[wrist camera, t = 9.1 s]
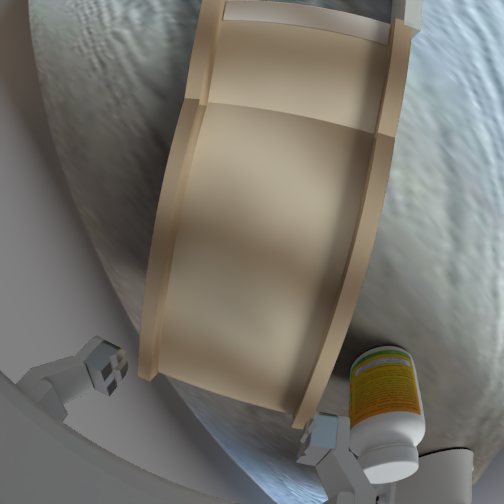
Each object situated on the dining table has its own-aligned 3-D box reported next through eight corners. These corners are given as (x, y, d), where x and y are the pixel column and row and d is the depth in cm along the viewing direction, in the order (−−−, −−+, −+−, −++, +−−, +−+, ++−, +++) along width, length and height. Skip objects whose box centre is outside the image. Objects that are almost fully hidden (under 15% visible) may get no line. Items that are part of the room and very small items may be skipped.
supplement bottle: (338, 360, 21) (329, 471, 13) (400, 332, 19) (419, 447, 10) (365, 395, 22) (362, 492, 14) (420, 372, 20) (436, 472, 12)
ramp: (316, 337, 21) (302, 435, 13) (194, 303, 22) (138, 382, 15) (394, 44, 12) (446, -14, 4) (229, 17, 13) (156, -43, 6)
